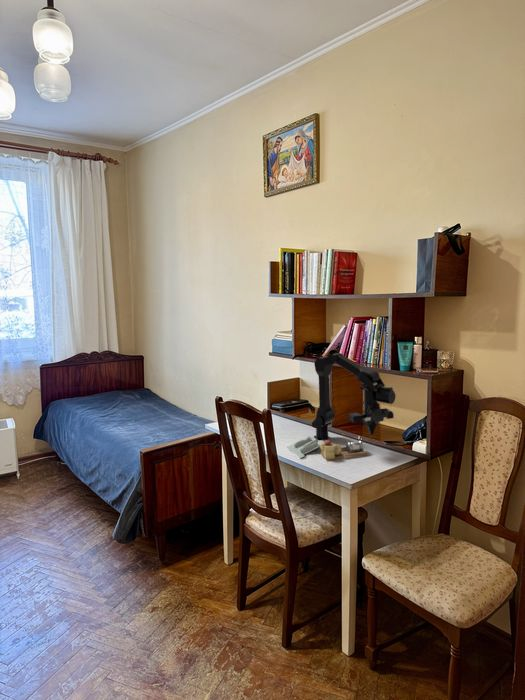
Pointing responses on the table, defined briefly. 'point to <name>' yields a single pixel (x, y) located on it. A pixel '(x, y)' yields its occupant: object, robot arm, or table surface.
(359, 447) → the cylinder
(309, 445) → the metal bracket
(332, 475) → the table surface
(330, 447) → the wooden channel tray
